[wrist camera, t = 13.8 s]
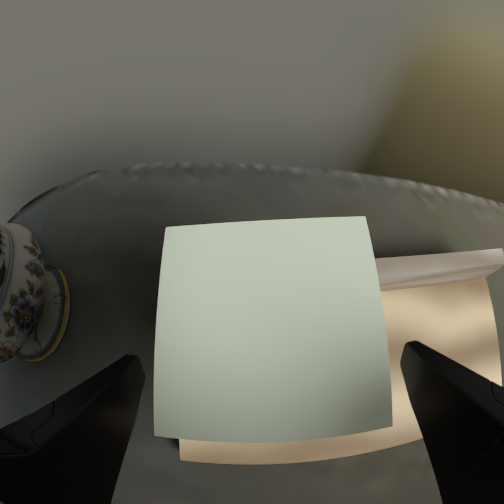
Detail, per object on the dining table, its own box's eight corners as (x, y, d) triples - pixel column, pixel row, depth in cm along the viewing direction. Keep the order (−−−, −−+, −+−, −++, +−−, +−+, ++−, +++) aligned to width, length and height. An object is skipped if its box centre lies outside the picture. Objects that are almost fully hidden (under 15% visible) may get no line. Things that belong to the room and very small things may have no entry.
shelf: (491, 405, 14) (526, 402, 10) (186, 455, 16) (163, 471, 12) (472, 268, 20) (500, 244, 15) (187, 289, 21) (166, 265, 17)
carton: (323, 401, 15) (392, 426, 6) (225, 405, 16) (154, 435, 6) (317, 306, 18) (363, 210, 8) (224, 310, 18) (166, 221, 9)
